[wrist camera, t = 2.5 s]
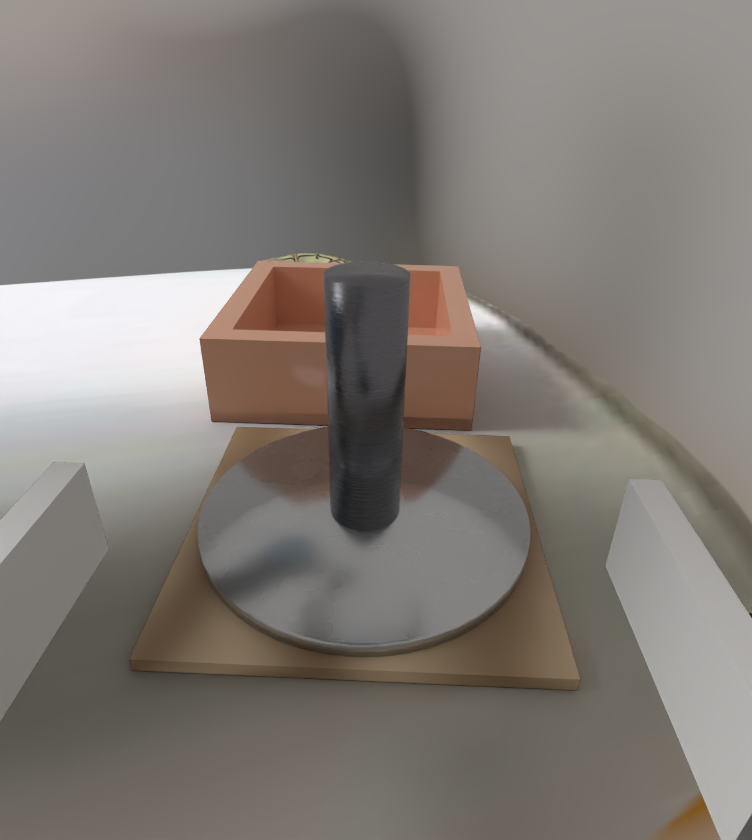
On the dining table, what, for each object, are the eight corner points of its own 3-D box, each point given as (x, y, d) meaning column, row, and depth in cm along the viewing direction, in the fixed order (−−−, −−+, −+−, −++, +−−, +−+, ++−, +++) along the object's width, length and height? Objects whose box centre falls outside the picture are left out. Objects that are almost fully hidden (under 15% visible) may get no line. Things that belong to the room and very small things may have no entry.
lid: (147, 648, 22) (67, 350, 16) (243, 431, 34) (219, 223, 28) (562, 666, 21) (644, 368, 15) (501, 440, 34) (533, 231, 28)
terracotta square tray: (211, 421, 36) (199, 338, 34) (263, 325, 50) (258, 260, 47) (471, 430, 36) (481, 347, 33) (452, 331, 50) (457, 266, 47)
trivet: (132, 670, 21) (129, 659, 21) (237, 435, 35) (236, 426, 35) (577, 690, 21) (580, 679, 21) (507, 444, 35) (509, 436, 34)
